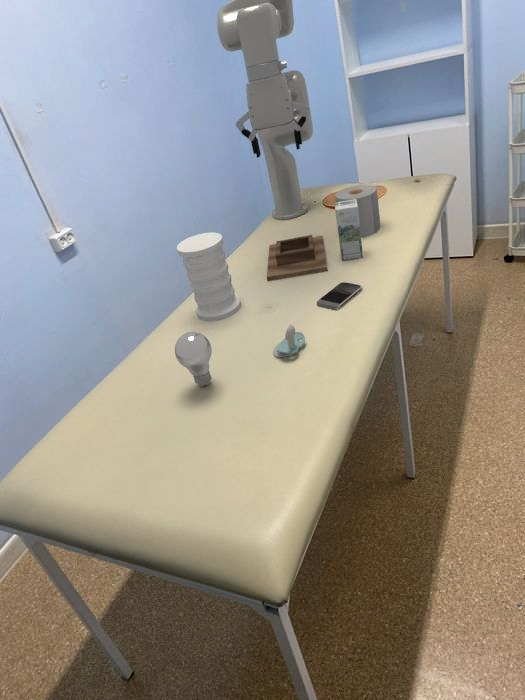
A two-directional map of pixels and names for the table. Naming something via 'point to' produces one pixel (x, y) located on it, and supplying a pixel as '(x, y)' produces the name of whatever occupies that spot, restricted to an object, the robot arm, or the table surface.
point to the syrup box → (349, 229)
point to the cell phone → (339, 296)
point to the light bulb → (195, 356)
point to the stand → (296, 257)
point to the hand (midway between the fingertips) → (278, 152)
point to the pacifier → (289, 343)
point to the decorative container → (209, 276)
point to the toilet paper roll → (363, 206)
